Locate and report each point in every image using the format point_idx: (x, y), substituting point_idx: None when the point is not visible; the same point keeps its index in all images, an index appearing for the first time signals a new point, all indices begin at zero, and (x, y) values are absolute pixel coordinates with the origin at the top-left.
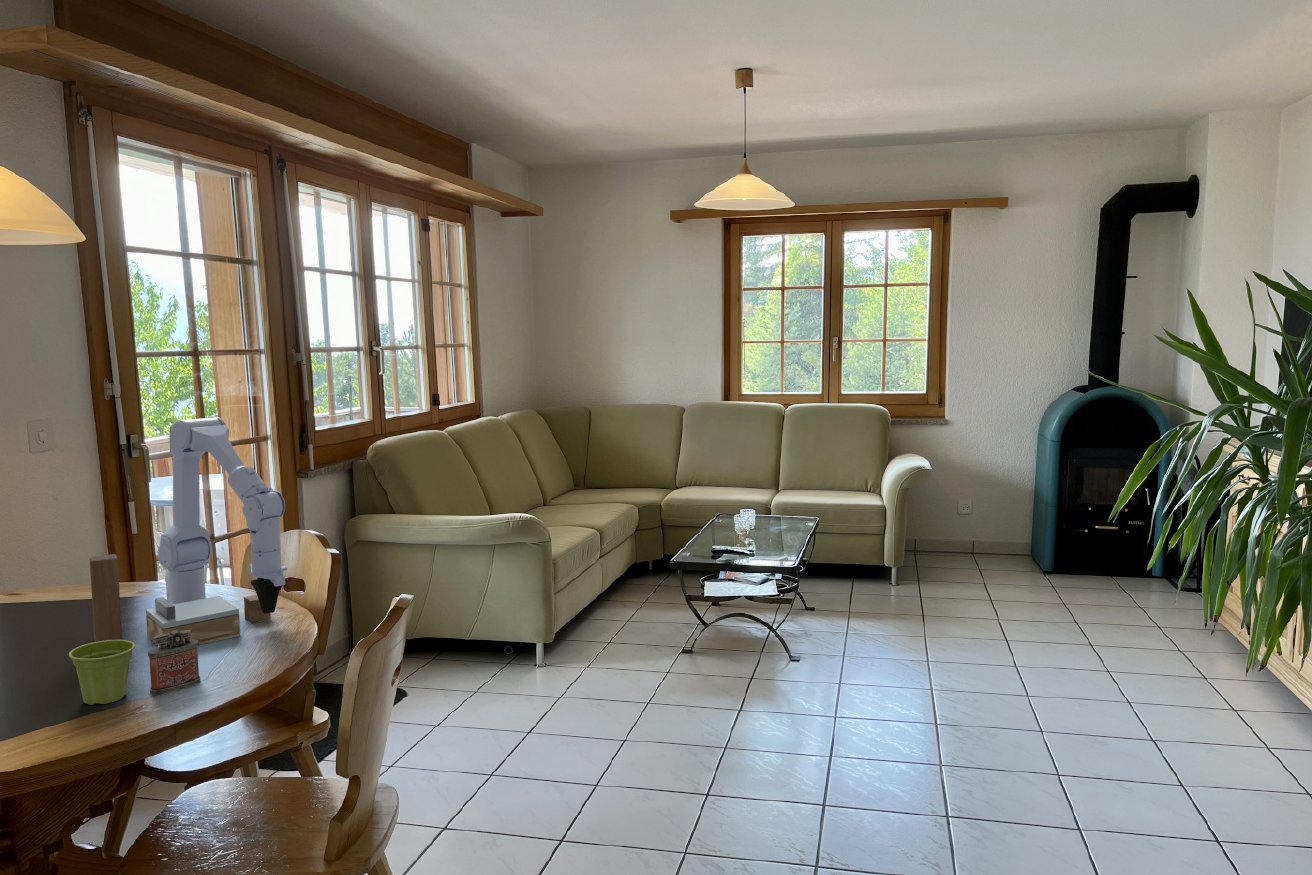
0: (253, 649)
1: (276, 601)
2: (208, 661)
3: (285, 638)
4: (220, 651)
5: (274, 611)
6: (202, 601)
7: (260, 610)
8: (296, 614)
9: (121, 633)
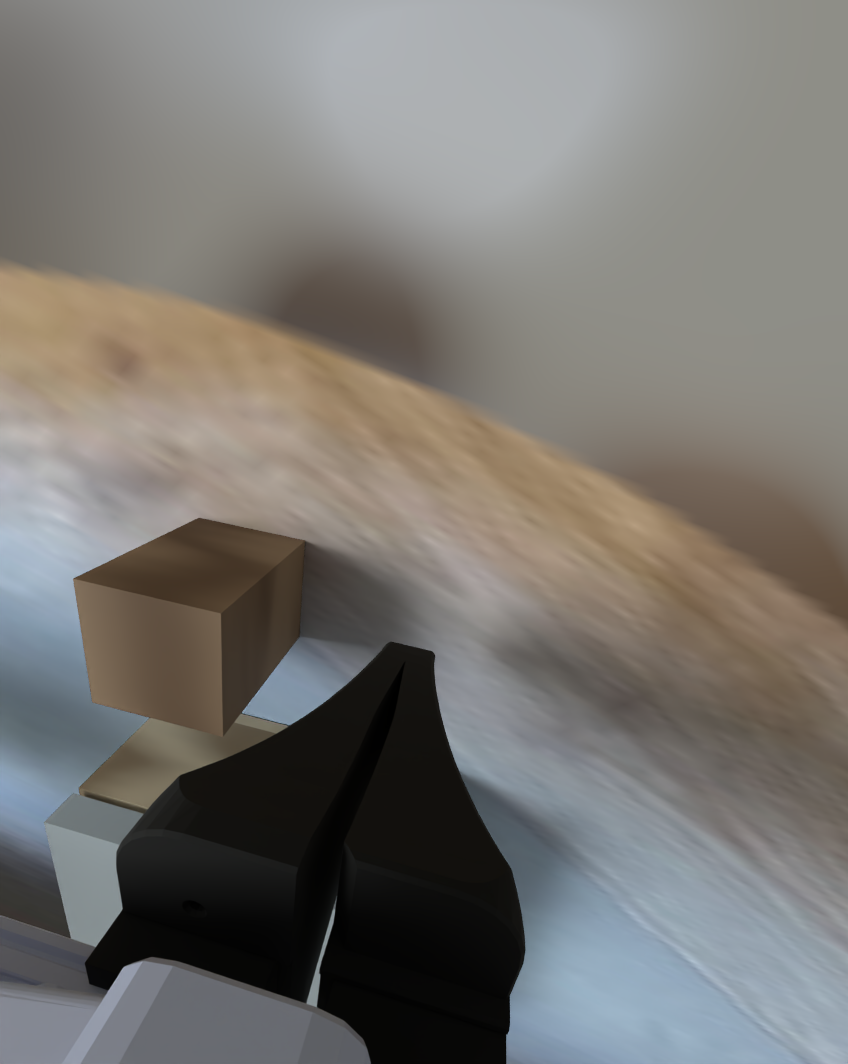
0: (691, 845)
1: (437, 702)
2: (641, 974)
3: (703, 689)
4: (573, 903)
5: (434, 655)
6: (109, 913)
7: (269, 629)
8: (324, 377)
9: None
